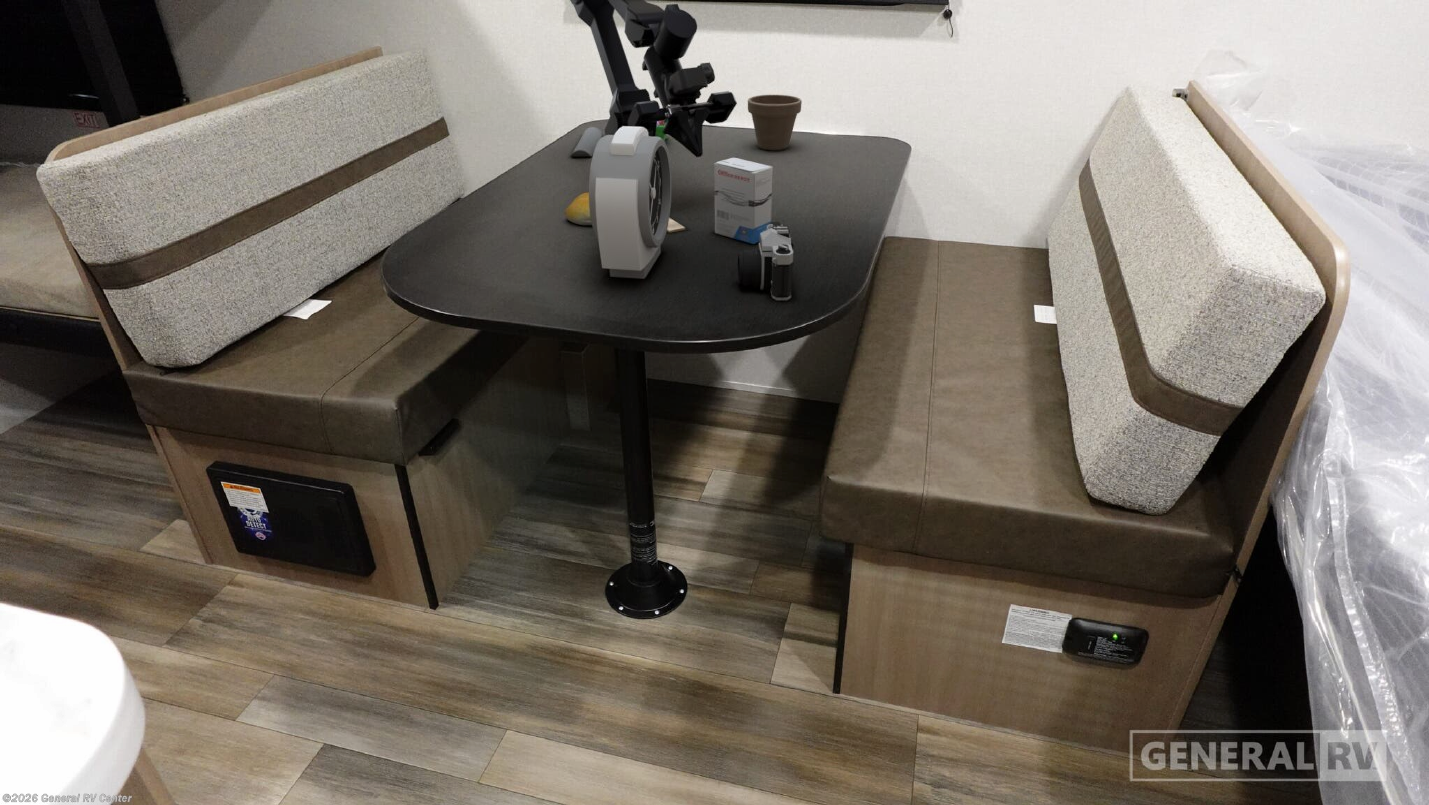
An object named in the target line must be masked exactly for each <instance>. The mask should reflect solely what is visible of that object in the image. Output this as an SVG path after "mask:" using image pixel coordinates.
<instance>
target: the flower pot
mask: <svg viewBox="0 0 1429 805" xmlns="http://www.w3.org/2000/svg"><path fill="white" fill-rule="evenodd" d="M802 102H803V101H802V99H801V98H799V97H798V96H794V95H789V94H788V95H787V94H760V95H754V96H751V97H749V98H748V99H747V112H748V113H750V114H751V118H752V123H753V128H754V133H755V138H756V143H757V146H758V148H760V149H762V150H764V151H781V150H786V149H787V148H788V147H789V145H790V142H791V139H792V134H793V130H794V127H795V124H796V119H797V117H798V114H800V113H801V112H802Z"/></svg>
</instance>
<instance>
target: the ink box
mask: <svg viewBox="0 0 1429 805" xmlns="http://www.w3.org/2000/svg"><path fill="white" fill-rule="evenodd" d="M713 165H714V166H713V170H714V171H713V173H714V175H713V176H714V178H713V179H714V180H713V182H714V185H713V186H714V187H713V189H714V233H715V234H716V235H720V236H724V237H728V238H730V239H735V240H737V241H740V242H744V243H747V244H750V245H755V244H757V243H759V242H760V233H762V232H764V231H765V229H767V226H768V225H769V224H770V223H771V222H772V206H773V205H772V201H773V198H772V197H773V166H771V165H767V164H763V163H760V162H755V161H750V160H746V159H742V158H738V157H735V156H734V157H730V158H727V159H722V160H719V161H718V160H717V161H716V162H714V164H713Z"/></svg>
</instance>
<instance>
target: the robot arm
mask: <svg viewBox="0 0 1429 805" xmlns="http://www.w3.org/2000/svg"><path fill="white" fill-rule="evenodd" d="M569 1H570V3H571V4H572V5H573V7H574V10H575V12H576V15H577V18H579V19H580V20H581V21H582V22H584V23H585V24H586V25H587V26H588V27H589V28H590V30H591V34H592V37H593V40H594V43H595V47H596V50H597V53H598V55H599V58H600V61H601V64H602V68H603V71H604V74H605V77H606V81H607V83H608V86H609V89H610V92H611V96H612V98H611V101H610V106H609V110H608V113H609V118H608V120H607V123H606V125H605V127H604V136H606V135H615V133H616V132H617V131H618V129H619V128H621V127H622V126H632V127H644V128H645V129H647V131H648V136H650V137H655V134H656V126H657V121H663V123H664V126H665V127H664V129H663V134H666V135H668V136H669V137H671V138H673V139H674V140H675V141H677V142H678V143H680V144H681V146H683V147H684V148H685V149H686V150H687V151H688V152H690V153H691V154H692V155H693V156H694V157H695V158H701V157H702V156H703V154H704V151H703V147H704V146H703V125H704V124H705V123H708V124H710V125H713V124H714V125H715V124H720V123H724V122H726V121H728V119H729V117H730V116H731V114H732V112H733V111H734V109H735V108H736V106H737V104H738V102H737V99H736V97H735V95H734V93H733V92H732V91H729V90H726V91H719V92H718V91H717V92H711V93H710V95H709V97H708V99H707V100H706V101H704V102H697V100H698V99H700V98H701V96H702V92H701V90H702V89H707V88H708V87H709V85H710V84H712V83H713V82H715V80H716V74H715V70H714V68H713V66H712V64H711V62H710V61H709V62H701V63H700V65H697V66H695V67H685V68H683V65H682V62H681V60H680V59H682V58H684V57H685V55H686V54H687V52H688V49H689V48H690V46H691V43H692V42H693V39H694V37H695V35H696V33H697V30H698V23H697V21H696V18H694V16H692V14H690V13H689V12H687V11H686V10H684V9H682V8H680V6H679V4H678V3H669V4H666V5H665V8H664V9H663V8H662V7H661V6H660V5H657V4H655V3H651V2H647V1H646V0H569ZM615 11H616V12H617V14H618V15H619V16H620V17H621V19H622V20H623V22H624V23H625V24H624V34H625V36H626V38H627V40H628V41H629V43H630V44H631V46H632V47H633V48H634V49H641V48H647V49H646V51H645V53H644V56H643V60H642V63H641V70H642V71H645V72H646V71H648V74H649V76H650V79H651V82H652V84H653V88H654V90H653V92H652V94H653V97H654V98H655V99H659V101H657V100H652V99H651V96H650V93H649V91H648V90H647V88H641V89H640V88H639V87H638V86H637V85H636V83H635V79H634V76H633V73H632V70H631V67H630V64H629V61H628V57H627V55H626V52H625V48H624V45H623V43H622V39H621V38H620V34H619V31H618V26H617V24H616V21H615V18H614V14H615ZM659 102H660V103H659ZM660 105H661V107H660Z"/></svg>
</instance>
